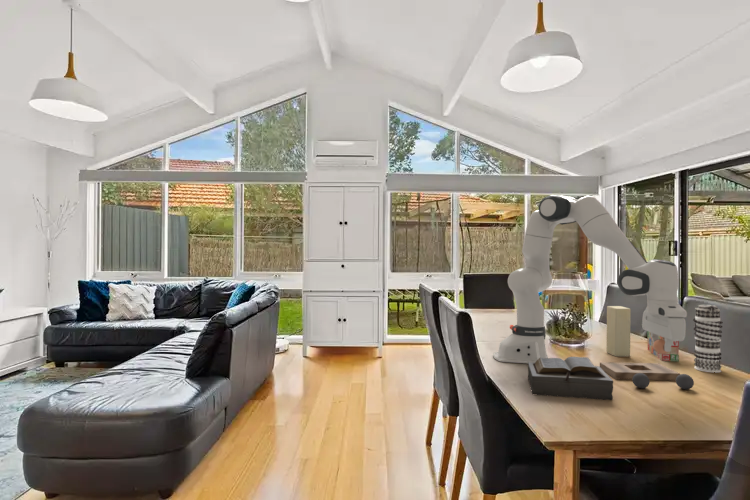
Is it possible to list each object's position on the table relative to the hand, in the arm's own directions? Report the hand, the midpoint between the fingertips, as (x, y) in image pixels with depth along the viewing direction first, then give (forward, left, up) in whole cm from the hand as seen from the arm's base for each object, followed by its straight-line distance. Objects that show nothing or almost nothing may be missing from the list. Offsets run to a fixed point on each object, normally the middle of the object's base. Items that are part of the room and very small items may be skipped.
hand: (661, 348), depth 151 cm
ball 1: (-7, 0, -11) cm, 13 cm away
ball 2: (+7, 0, -11) cm, 13 cm away
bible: (-32, -3, -14) cm, 35 cm away
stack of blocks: (+26, +49, -14) cm, 57 cm away
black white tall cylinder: (+30, +26, -14) cm, 42 cm away
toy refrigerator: (+7, +49, -14) cm, 51 cm away
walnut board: (0, +17, -13) cm, 21 cm away
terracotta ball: (0, 0, +1) cm, 1 cm away
